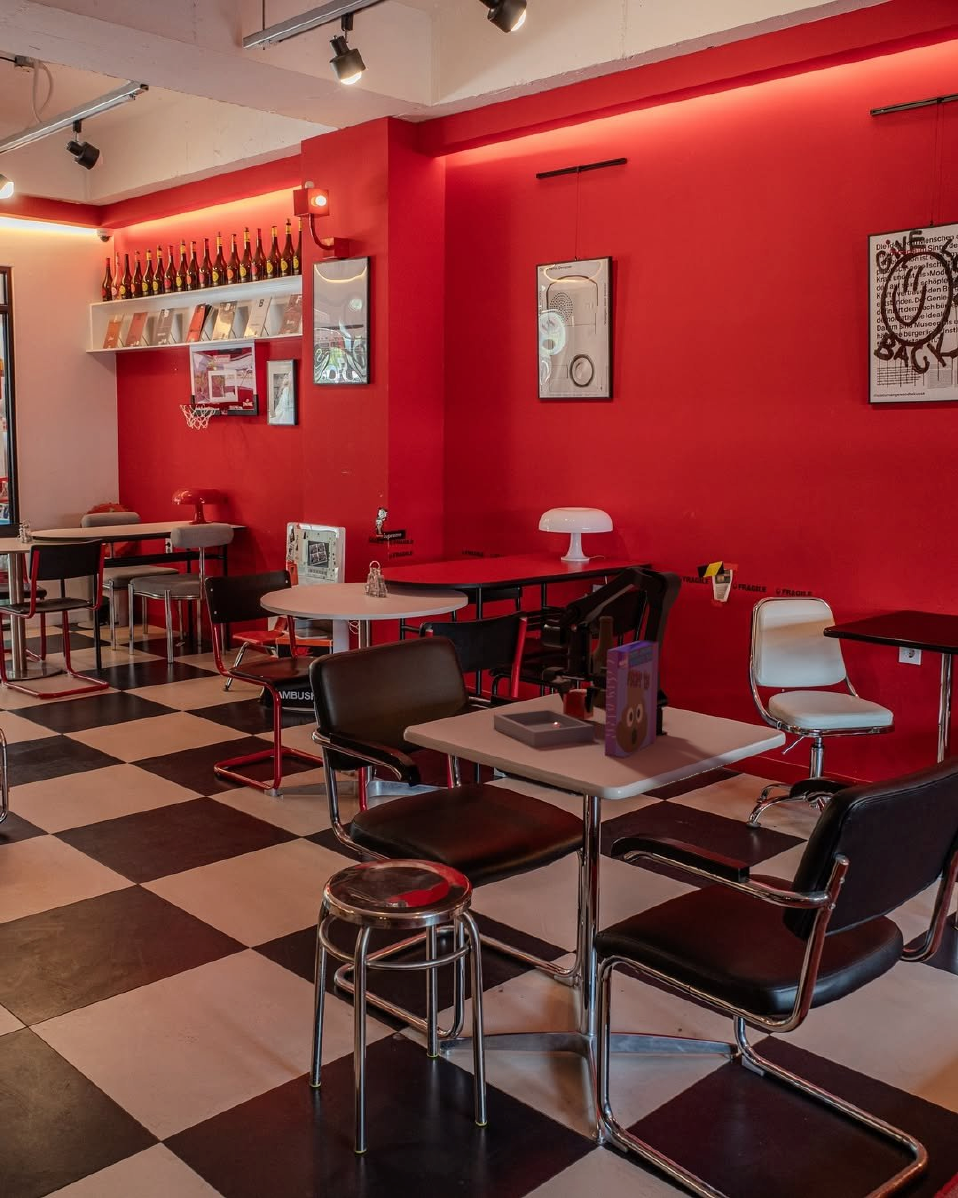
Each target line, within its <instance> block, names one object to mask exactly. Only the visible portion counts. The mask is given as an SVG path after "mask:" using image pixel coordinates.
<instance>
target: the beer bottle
mask: <svg viewBox="0 0 958 1198" xmlns="http://www.w3.org/2000/svg"><path fill="white" fill-rule="evenodd" d="M598 621H599V634H598V642H597V646H596V648H595V649H594V651H593V652H592V653H593V655H594V660H597V661H599V662H601V663H602V666H601V671H600V673H607V650H610V649H613V648H615V646H614V636H613V634H614V633H613V629H614V628H613V622H614V617H612V616H608V615H604V616H603V615H602V616H600V617H599V620H598ZM590 675H596V674H590ZM589 683H590V685H589V686H591V682H589ZM596 706H598V707H597V708H603V709H604V708H605V709H606V688H603V689H601V690H600V692H599V694H598V696H597V698H596V700H595V703H594V707H596Z"/></svg>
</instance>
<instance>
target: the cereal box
mask: <svg viewBox="0 0 958 1198" xmlns="http://www.w3.org/2000/svg"><path fill="white" fill-rule="evenodd" d="M658 647H659V642H655V641H650V640H643V639H641V640H640V639H639V640H636V641H633V642H630V643H626V644H623V645H620V646H617V647H614V648H613V649H610V650H607V683H606V707H605V730H604V731H605V734H604V756H607V757H613V758H619V757H620V759H626V758H628V757H629V756H631V755H634V754H635V753H637V752H640V751H641V749H642V750H643V749H645V748H647V747H649V746H651V745H653V744H655V743H656V742H657V741H656V740H657V736H656V715H657V681H658V669H659V664H658ZM654 742H655V743H654ZM639 750H640V751H639ZM625 757H626V758H625Z"/></svg>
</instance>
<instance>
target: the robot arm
mask: <svg viewBox="0 0 958 1198" xmlns="http://www.w3.org/2000/svg"><path fill="white" fill-rule="evenodd" d="M634 586H635V587H637V588H638V589H640V590H642V591H645V592H646V593H645V597H646V601H647V605H648V612H647V617H646V622H645V628H644V634H643V638H642V640H650V641H655V642H659V647H658V665H659V663H660V659H661V654H662V648H663V643H664V639H665V638H664V637H665V634H666V633H665V632H666V628H667V624H668V618H669V613H670V610H671V609H672V607H673V606H674V604H675V603H676V601H677V599H678V596H679V595H680V592H681V589H682V579H680V577H679V575H678V574H677V573H676V572H674V571H664V572H663V571H662V572H661V571H657V570H652V569H647V568H644V567H641V566H631V567H630V566H629V567H626V568H625V569H624V571H622V572H621V573H619V574H618V575H617V576H615V577H614V578H612V579H611V580H609V581H608V582H606V583H605V584H604V585H602V586H601V587H599V588H597V590H595V591H593V592H592V593H590V594H589V595H585V596H582V597H580V598H577V599H575V600H573V601H570V602H568V603H567V604H566V605H565V606H564V607H565V610H564V612H563V614H562V615H561V617H560V619H559V620H556V619H553V618H552V619H546V620H545V625H544V626H543V627H542V630H541V632H540V641H541V644H542V645H543V646H547V647H553V648H554V647H555V648H562V649H565V648H566V647H567V651H568V652H567V654H565V659H566V660H567V669H566V668H565V667H559V666H551V667H550V666H549V667H547V668H544V670H543V671H542V673H541V680H542V681H545V682H550V683H551V684H550V685H551V686H554V687H555V689H556V692H557V693H558V695H559V697H560V699H561V702H562V703H563V699H564V693H567V692H570V691H571V690H570V688H571V684H572V681H577V682H585V683H590V682H591V686H590V685H589V686H587V687H586V692H587V710H588V713H590V712H591V711H592V708H593V706H594V703H595V700H596V698H597V696H598V694H599V692H600V690H601V689H603V688H606V683H607V673H600V671H601V666H602V663H601V662H599V661H597V660H594V655H593V652H592V635H595V634H598V633H599V632H600V629H598V628H597V627H596V626H595V624H594V623H589V622H592V621H594V619H595V618H596V617H597V616H599V615H600V613H601V612H602V610H603V608H604V607H605V606H606V605H607V604H609V603H612V602H613V601H614V600H615V599H618V597H619V596H621V595H623V594H624V593H625V592H627V591H629V590H630V589H632V588H633V587H634ZM584 623H589V624H586V625H582V624H584ZM573 626H575V627H573ZM591 674H596V675H591ZM661 680H662V679H661V673H660V669H659V668H658V681H657V715H656V737H657V736H664V735H665V736H666V735H668V733H669V732H668V731H665V730H663V726H664V725H663V723H664V722H663V721H664V719H663V718H664V710H663V708H666V707H668V705H669V702H670V698H669V697H668V695H667V694H666V693H665V692H664V690H663V689H662V687H661V683H662V682H661ZM594 707H595V706H594Z"/></svg>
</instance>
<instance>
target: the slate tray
mask: <svg viewBox="0 0 958 1198" xmlns="http://www.w3.org/2000/svg"><path fill="white" fill-rule="evenodd" d="M556 722H559V723H561V724H562V725H563V726H564V728H557V729H551V727H552V725H553V724H554V723H556ZM594 728H595V727H594V725H593V724H590V723H588V722H585V721H584V720H580V719H578V718H573V717H570V716H568V715H565V714H563V712H560V711H557V710H554V709H553V708H547V709H537V710H536V709H535V710H527V711H517V712H515V711H514V712H507V713H499V714H498V713H496V714H493V729H494V730H496V731H498V732H501V733H502V734H505V736H506V735H507V736H509V737H511V738H513V739H515V740H517V741H519V742H522V743H524V744H526V745H529V746H530V747H532V748H541V747H549V746H556V745H565V744H572V743H580V742H583V743H584V742H590V741H594V733H595V732H594Z"/></svg>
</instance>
